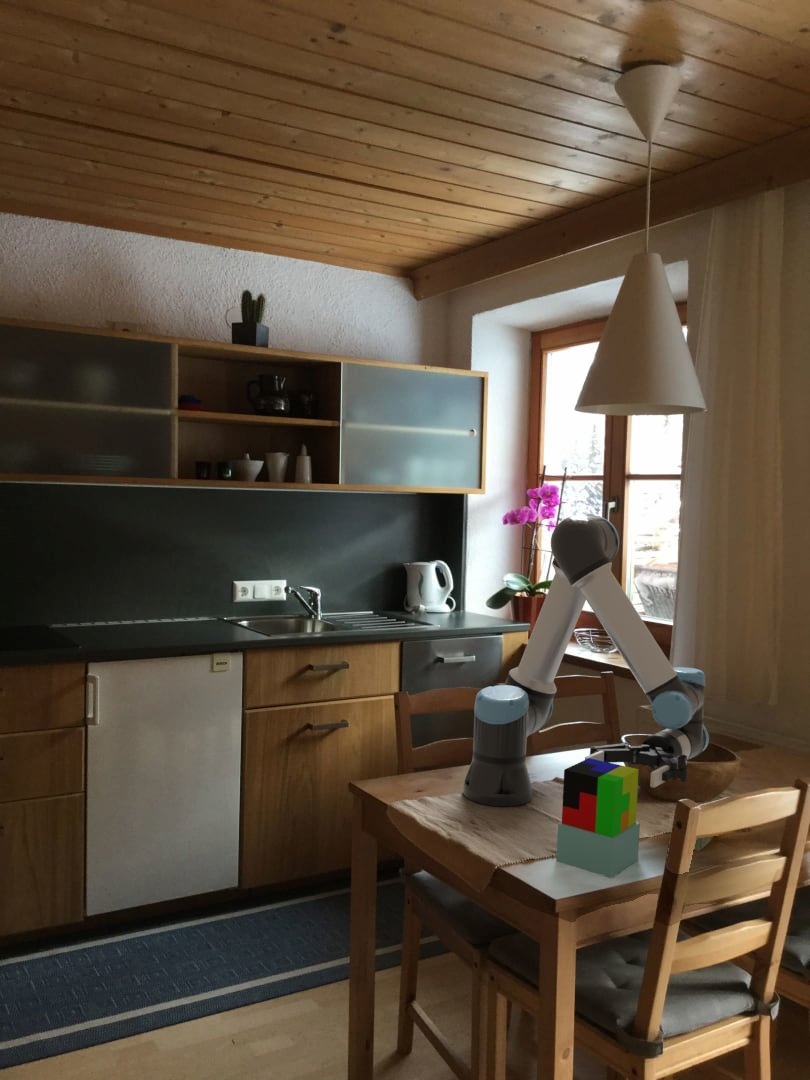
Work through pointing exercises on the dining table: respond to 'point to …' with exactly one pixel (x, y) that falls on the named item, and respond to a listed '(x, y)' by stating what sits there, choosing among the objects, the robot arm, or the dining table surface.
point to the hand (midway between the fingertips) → (618, 772)
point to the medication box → (702, 842)
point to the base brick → (598, 849)
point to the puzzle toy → (600, 797)
